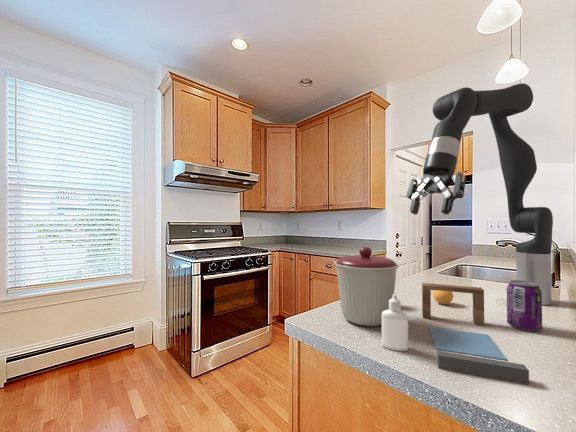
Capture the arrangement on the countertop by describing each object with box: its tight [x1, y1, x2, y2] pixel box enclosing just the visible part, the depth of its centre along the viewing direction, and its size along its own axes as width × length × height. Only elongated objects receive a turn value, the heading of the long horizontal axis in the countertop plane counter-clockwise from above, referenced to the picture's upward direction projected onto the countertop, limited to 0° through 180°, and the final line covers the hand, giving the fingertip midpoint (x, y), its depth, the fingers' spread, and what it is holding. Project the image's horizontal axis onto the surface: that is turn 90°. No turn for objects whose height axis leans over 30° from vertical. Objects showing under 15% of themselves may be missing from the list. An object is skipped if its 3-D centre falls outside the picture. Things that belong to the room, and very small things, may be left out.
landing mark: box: [429, 326, 508, 361], centre depth 64 cm, size 13×13×1 cm
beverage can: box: [506, 279, 543, 332], centre depth 72 cm, size 7×7×12 cm
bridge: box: [421, 282, 485, 327], centre depth 78 cm, size 3×15×10 cm, turn 68°
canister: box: [333, 246, 400, 327], centre depth 78 cm, size 18×18×21 cm
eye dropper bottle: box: [381, 293, 409, 352], centre depth 61 cm, size 4×6×12 cm
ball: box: [432, 290, 454, 305], centre depth 93 cm, size 6×6×6 cm
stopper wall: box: [436, 350, 530, 385], centre depth 51 cm, size 2×14×2 cm, turn 68°
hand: (428, 213), depth 71 cm, fingers open, 8 cm apart
